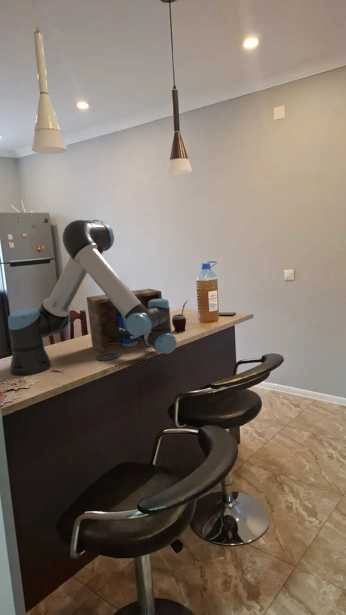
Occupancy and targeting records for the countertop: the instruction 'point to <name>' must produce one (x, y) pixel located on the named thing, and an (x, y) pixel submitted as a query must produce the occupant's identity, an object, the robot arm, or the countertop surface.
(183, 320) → the mate gourd
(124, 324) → the beer can
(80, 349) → the countertop surface
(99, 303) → the cubby
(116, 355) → the coaster
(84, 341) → the countertop surface
